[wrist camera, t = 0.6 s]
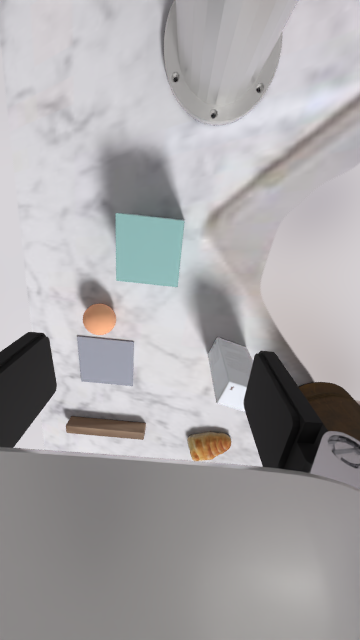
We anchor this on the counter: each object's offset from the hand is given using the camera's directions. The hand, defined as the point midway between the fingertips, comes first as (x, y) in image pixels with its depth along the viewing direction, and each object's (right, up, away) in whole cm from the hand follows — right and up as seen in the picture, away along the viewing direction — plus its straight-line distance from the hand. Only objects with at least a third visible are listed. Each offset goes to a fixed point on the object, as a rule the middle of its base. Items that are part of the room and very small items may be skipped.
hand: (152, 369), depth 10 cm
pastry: (+7, -25, +41) cm, 49 cm away
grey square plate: (-13, -6, +32) cm, 35 cm away
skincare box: (+10, -3, +31) cm, 33 cm away
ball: (-12, +2, +26) cm, 29 cm away
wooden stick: (-14, -20, +39) cm, 46 cm away
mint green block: (-2, +13, +24) cm, 27 cm away
